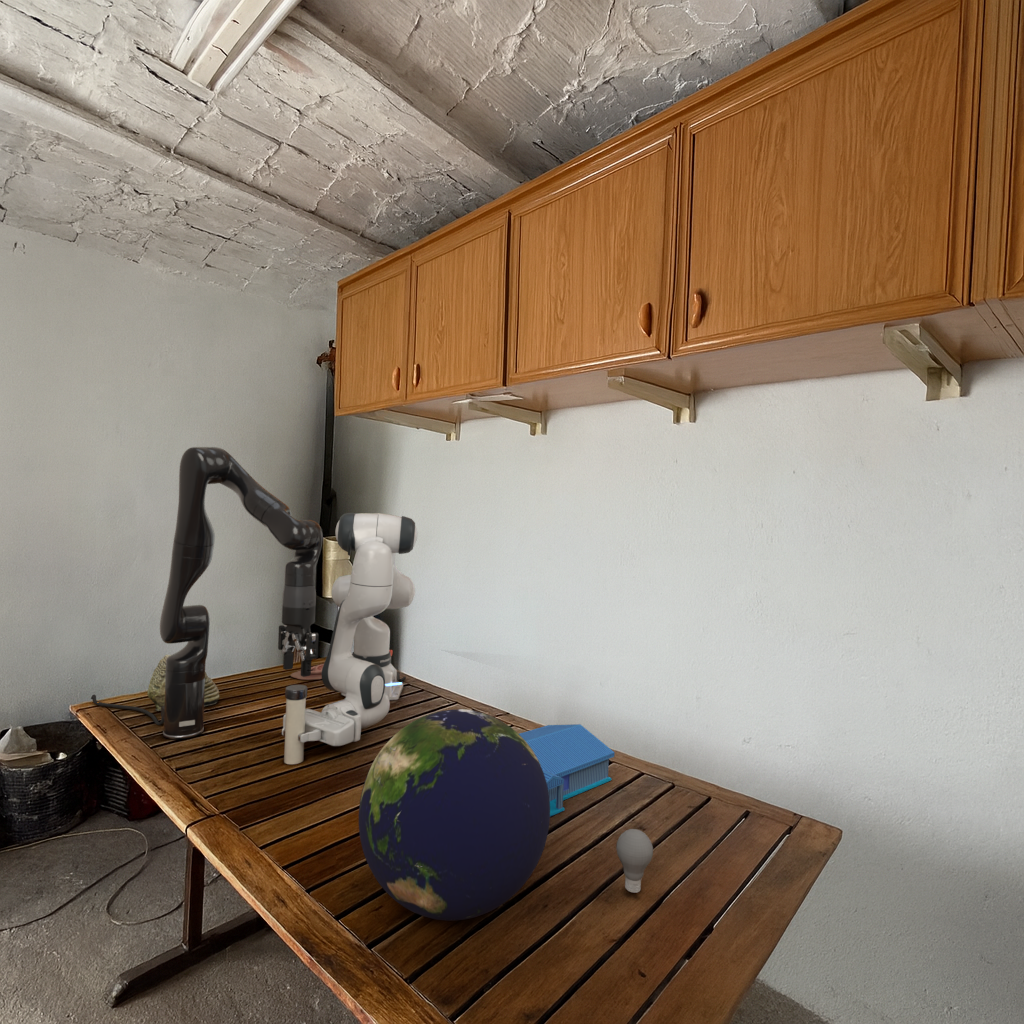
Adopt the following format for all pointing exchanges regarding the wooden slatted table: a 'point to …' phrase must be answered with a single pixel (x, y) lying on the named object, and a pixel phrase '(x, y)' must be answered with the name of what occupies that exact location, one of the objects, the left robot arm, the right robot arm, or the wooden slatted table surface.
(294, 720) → the beige tall cylinder
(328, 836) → the wooden slatted table surface
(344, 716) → the right robot arm
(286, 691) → the lid
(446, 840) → the globe
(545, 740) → the model building
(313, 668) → the anatomical model
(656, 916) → the wooden slatted table surface
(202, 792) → the wooden slatted table surface
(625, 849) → the light bulb
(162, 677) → the fossil
